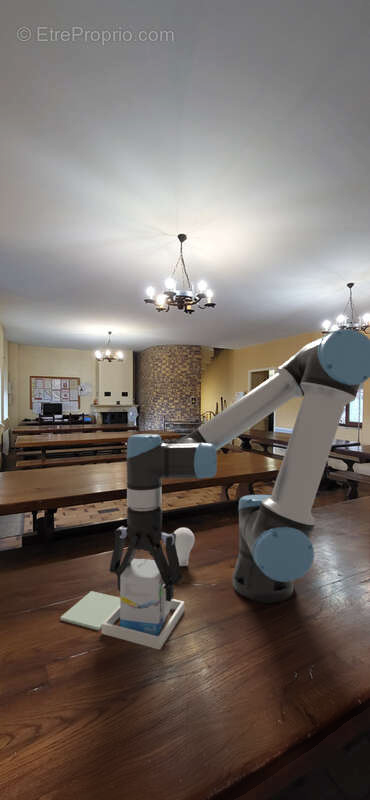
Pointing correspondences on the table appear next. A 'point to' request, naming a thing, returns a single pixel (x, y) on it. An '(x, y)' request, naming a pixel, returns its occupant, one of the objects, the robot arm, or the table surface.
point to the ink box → (141, 597)
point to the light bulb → (184, 544)
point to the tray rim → (140, 636)
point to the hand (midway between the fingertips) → (145, 609)
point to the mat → (92, 610)
